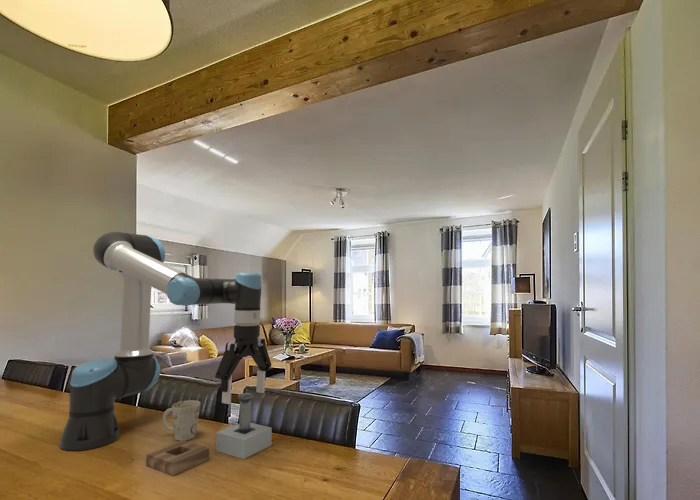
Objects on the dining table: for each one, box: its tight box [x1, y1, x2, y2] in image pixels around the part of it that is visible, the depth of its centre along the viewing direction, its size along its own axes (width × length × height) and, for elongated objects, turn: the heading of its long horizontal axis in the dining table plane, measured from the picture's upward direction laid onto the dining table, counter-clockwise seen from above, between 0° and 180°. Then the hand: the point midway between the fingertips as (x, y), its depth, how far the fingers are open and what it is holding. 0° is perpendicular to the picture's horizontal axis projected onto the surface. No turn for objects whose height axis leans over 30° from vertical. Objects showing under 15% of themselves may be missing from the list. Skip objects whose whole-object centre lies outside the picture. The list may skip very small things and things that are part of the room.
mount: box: [145, 440, 210, 477], centre depth 106 cm, size 11×11×3 cm
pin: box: [237, 392, 254, 434], centre depth 116 cm, size 4×4×15 cm
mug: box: [162, 399, 201, 442], centre depth 125 cm, size 8×13×10 cm, turn 78°
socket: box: [215, 422, 273, 460], centre depth 116 cm, size 11×11×5 cm
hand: (244, 397), depth 117 cm, fingers open, 13 cm apart
